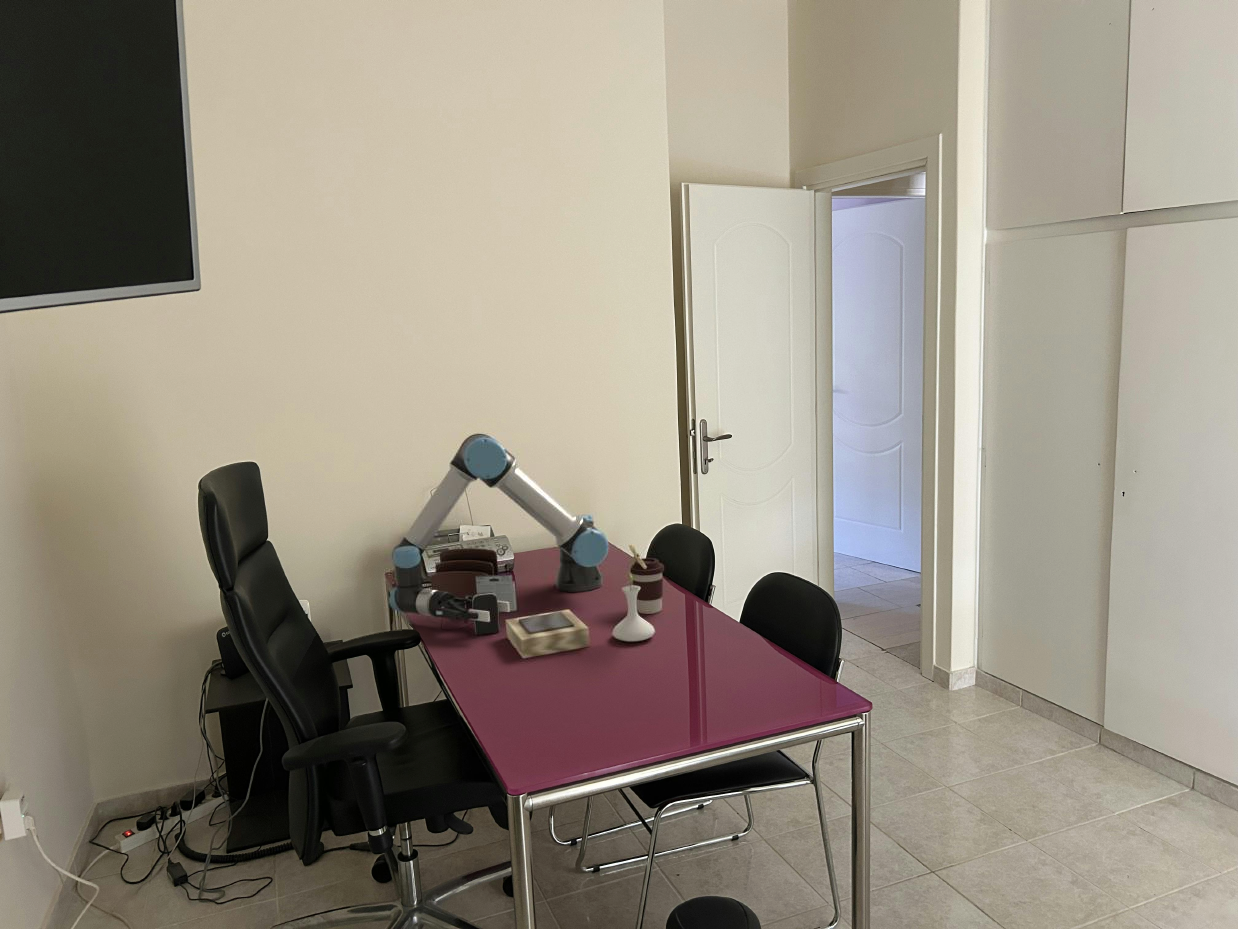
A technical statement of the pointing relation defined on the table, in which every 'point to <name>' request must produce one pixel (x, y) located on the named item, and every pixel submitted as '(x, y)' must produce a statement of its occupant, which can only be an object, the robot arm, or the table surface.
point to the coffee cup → (648, 585)
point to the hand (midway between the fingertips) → (498, 611)
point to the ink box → (498, 588)
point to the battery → (486, 603)
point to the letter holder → (463, 570)
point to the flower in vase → (633, 612)
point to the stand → (547, 633)
